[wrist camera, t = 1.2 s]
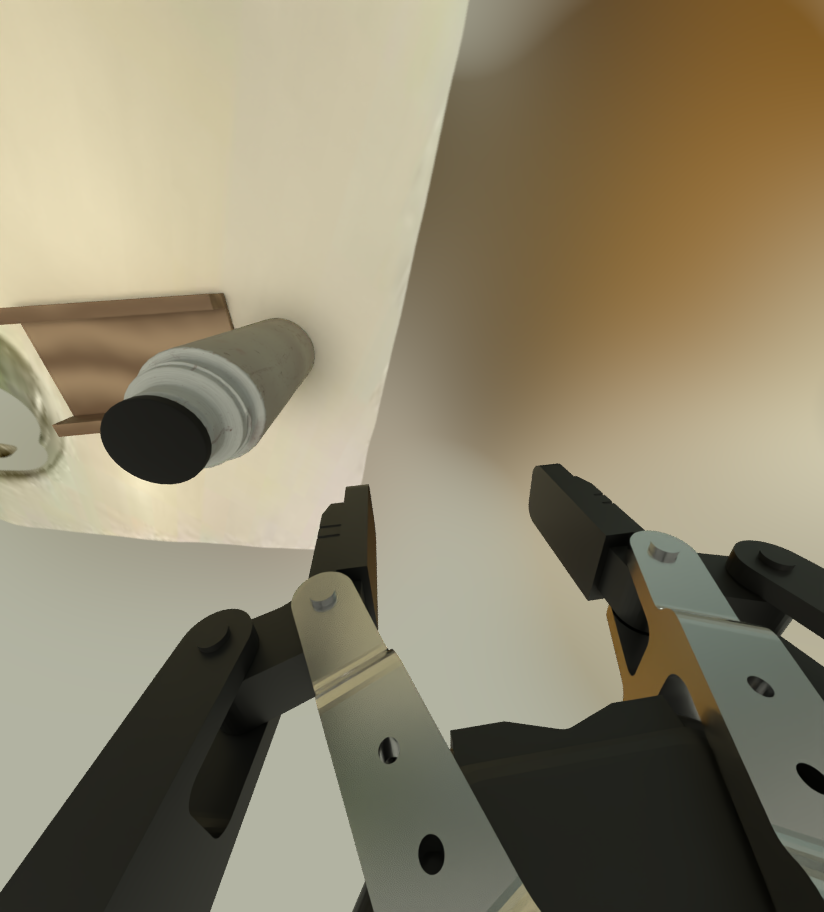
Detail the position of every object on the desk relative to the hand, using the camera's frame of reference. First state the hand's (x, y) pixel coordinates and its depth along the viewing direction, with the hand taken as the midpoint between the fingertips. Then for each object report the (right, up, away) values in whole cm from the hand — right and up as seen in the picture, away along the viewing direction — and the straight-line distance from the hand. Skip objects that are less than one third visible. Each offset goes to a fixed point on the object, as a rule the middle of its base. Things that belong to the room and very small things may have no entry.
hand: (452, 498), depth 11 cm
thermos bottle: (-18, +15, +31) cm, 38 cm away
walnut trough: (-34, +13, +29) cm, 46 cm away
